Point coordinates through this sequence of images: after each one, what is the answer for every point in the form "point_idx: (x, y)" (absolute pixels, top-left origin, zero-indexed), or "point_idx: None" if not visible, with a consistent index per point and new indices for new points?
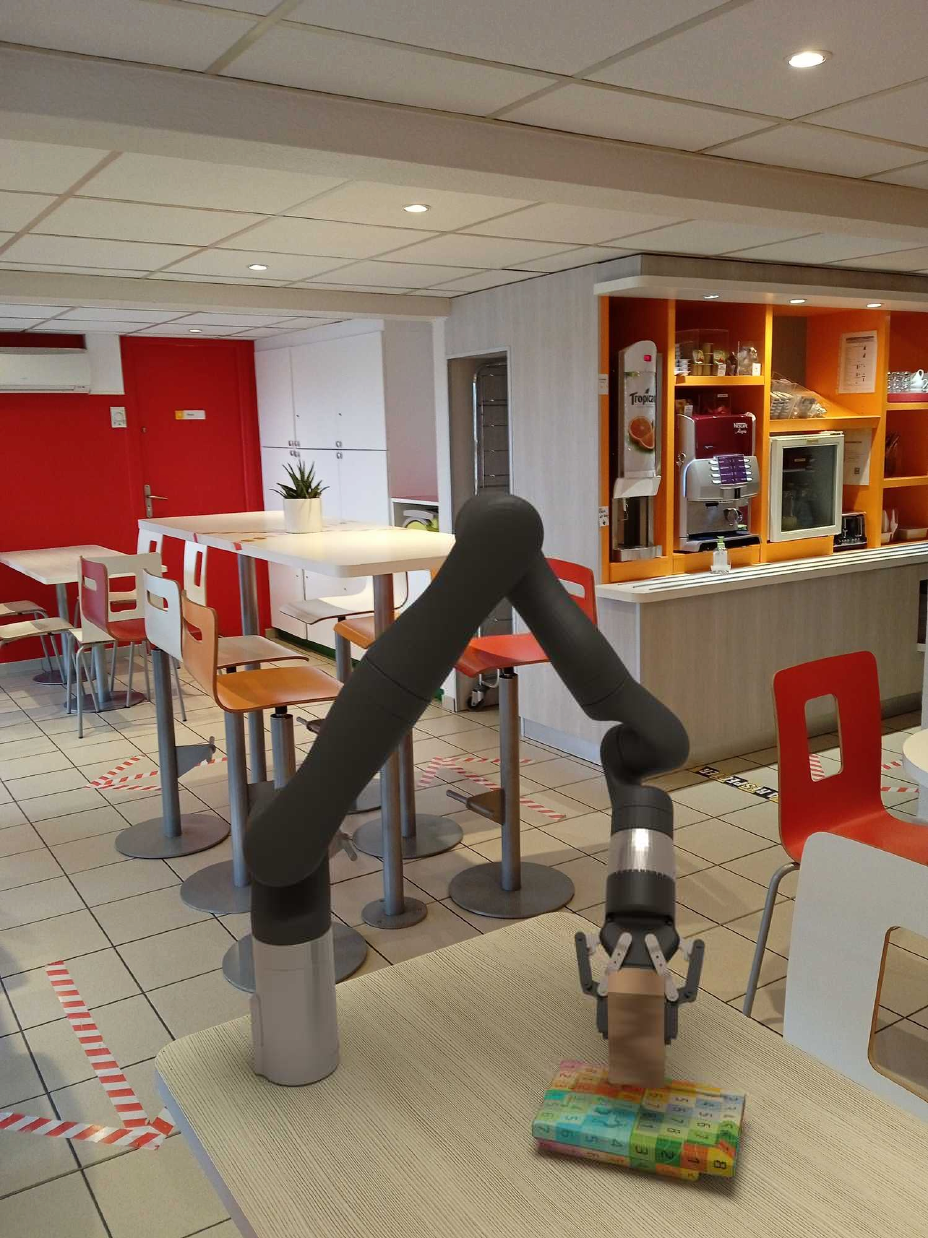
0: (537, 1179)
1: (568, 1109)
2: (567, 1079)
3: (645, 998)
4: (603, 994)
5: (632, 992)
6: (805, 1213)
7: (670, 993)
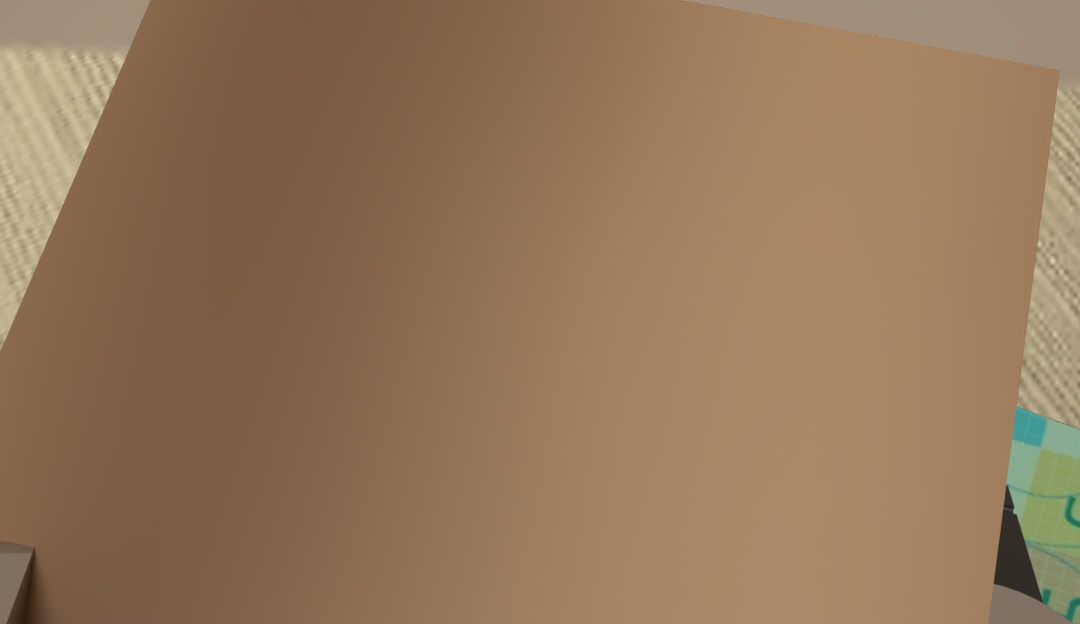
0: (1063, 338)
1: None
2: None
3: None
4: (995, 591)
5: (639, 12)
6: (73, 113)
7: None
